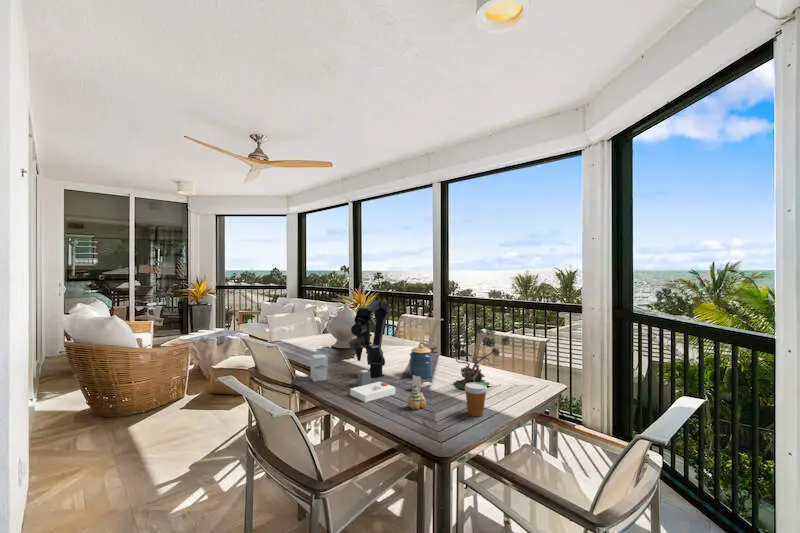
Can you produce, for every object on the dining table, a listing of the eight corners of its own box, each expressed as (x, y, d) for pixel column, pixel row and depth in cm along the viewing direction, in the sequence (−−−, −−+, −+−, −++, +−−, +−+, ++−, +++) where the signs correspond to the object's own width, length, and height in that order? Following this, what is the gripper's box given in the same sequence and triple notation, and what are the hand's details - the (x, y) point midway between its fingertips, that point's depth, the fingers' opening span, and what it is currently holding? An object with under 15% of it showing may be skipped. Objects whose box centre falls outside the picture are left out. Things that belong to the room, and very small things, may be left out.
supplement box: (313, 382, 204) (314, 358, 204) (310, 378, 211) (310, 354, 211) (327, 380, 208) (327, 356, 207) (323, 376, 214) (323, 353, 214)
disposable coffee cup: (461, 409, 169) (462, 382, 169) (483, 409, 170) (483, 381, 170) (467, 418, 160) (467, 389, 160) (489, 418, 161) (490, 389, 161)
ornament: (419, 403, 176) (419, 381, 176) (428, 407, 172) (428, 384, 171) (405, 407, 171) (405, 384, 171) (414, 411, 167) (414, 388, 166)
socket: (379, 387, 197) (379, 379, 197) (395, 393, 188) (395, 385, 188) (350, 395, 185) (350, 387, 185) (365, 402, 176) (365, 393, 176)
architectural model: (417, 388, 198) (417, 374, 198) (426, 392, 193) (427, 377, 192) (412, 390, 196) (412, 375, 196) (421, 393, 190) (422, 378, 190)
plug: (365, 383, 204) (365, 369, 204) (370, 385, 201) (370, 371, 201) (357, 385, 200) (357, 371, 200) (362, 387, 198) (362, 372, 197)
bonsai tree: (479, 400, 181) (481, 332, 180) (441, 387, 199) (442, 325, 199) (522, 386, 203) (523, 325, 203) (484, 375, 222) (485, 319, 222)
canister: (405, 377, 216) (406, 345, 216) (413, 371, 228) (414, 340, 228) (428, 380, 211) (428, 347, 211) (435, 373, 223) (435, 343, 223)
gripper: (341, 331, 202) (340, 361, 202) (362, 337, 188) (362, 369, 188) (358, 329, 209) (358, 358, 210) (380, 334, 195) (380, 365, 196)
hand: (364, 362), depth 201 cm, fingers open, 9 cm apart
